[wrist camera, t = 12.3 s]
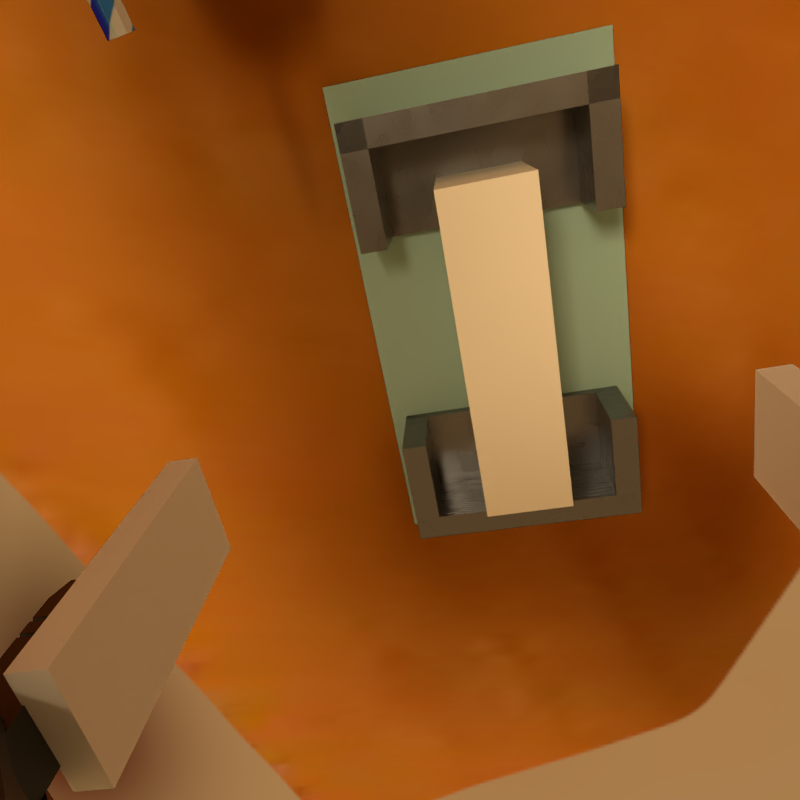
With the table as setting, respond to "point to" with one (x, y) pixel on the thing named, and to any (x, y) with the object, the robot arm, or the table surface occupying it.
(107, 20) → the cup
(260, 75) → the table surface
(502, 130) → the grey u-shaped bracket
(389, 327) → the mat
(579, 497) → the cap
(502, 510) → the slat
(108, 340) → the table surface
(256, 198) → the table surface
